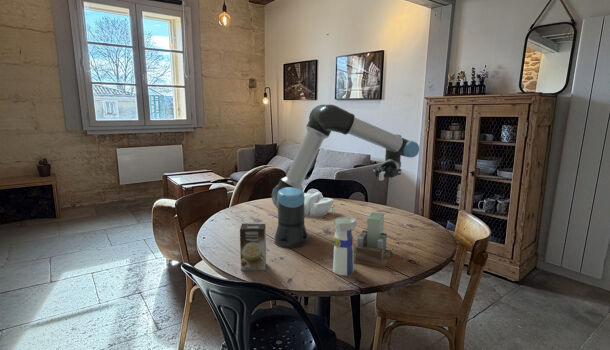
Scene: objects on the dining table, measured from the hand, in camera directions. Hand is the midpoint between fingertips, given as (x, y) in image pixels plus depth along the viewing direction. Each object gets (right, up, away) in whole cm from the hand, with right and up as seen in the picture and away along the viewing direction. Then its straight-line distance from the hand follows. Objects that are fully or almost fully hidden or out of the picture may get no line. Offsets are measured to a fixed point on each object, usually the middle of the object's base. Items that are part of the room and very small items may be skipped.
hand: (380, 177), depth 140 cm
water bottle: (-18, -34, -18) cm, 43 cm away
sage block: (-3, -29, -2) cm, 30 cm away
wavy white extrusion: (-32, -20, +55) cm, 67 cm away
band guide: (-5, -32, -7) cm, 33 cm away
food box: (-51, -34, -15) cm, 63 cm away
